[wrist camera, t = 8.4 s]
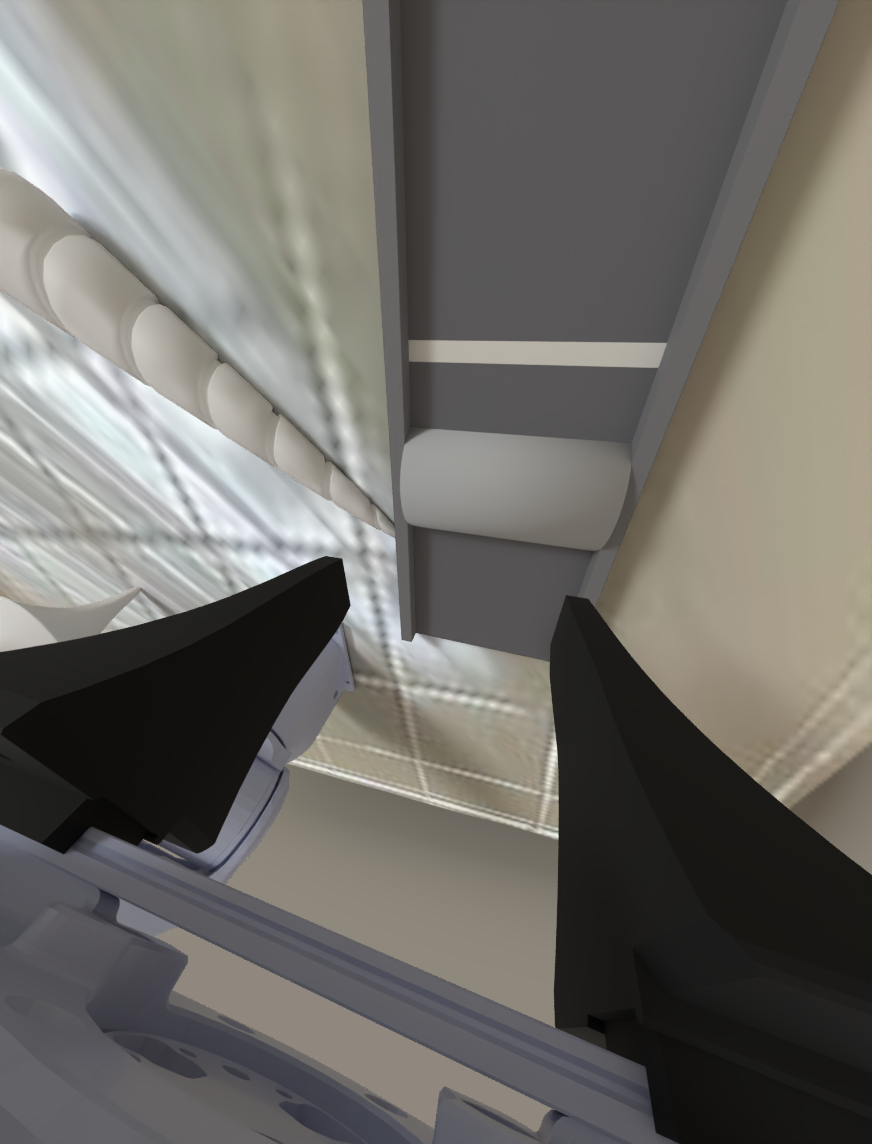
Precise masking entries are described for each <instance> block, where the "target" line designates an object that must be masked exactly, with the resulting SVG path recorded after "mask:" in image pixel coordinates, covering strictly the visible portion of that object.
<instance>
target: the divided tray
mask: <svg viewBox="0 0 872 1144" xmlns="http://www.w3.org/2000/svg"><path fill="white" fill-rule="evenodd" d="M362 2H363V18H364V34H365V51H366V67H367V83H368V99H369V116H370V132H371V148H372V165H373V181H374V197H375V213H376V230H377V246H378V262H379V278H380V295H381V311H382V327H383V344H384V360H385V376H386V392H387V409H388V425H389V441H390V458H391V474H392V490H393V506H394V523H395V539H396V555H397V572H398V588H399V604H400V620H401V637H402V640H405V641H410V642H412V640H413V638H414V636H415V633H420V634H424V635H429V636H434V637H438V638H443V639H448V640H452V641H457V642H462V643H466V644H471V645H476V646H480V647H485V648H490V649H495V650H499V651H504V652H509V653H513V654H518V655H523V656H527V657H532V658H537V659H541V660H546V661H550V644H551V641H552V638H553V635H554V631H555V628H556V625H557V622H558V619H559V616H560V612H561V609H562V606H563V603H564V600H565V597H566V595H569V596H575V597H581V598H587V599H589V600H590V602H591V603H592V604H593V606H594V607H595V606H596V604H597V601H598V599H599V596H600V594H601V591H602V589H603V586H604V584H605V581H606V579H607V576H608V574H609V571H610V569H611V566H612V564H613V561H614V559H615V556H616V554H617V551H618V549H619V546H620V544H621V542H622V539H623V537H624V534H625V532H626V529H627V527H628V524H629V522H630V519H631V517H632V514H633V512H634V509H635V507H636V504H637V502H638V499H639V497H640V494H641V492H642V489H643V487H644V484H645V482H646V479H647V477H648V474H649V472H650V469H651V467H652V465H653V462H654V460H655V457H656V455H657V452H658V450H659V447H660V445H661V442H662V440H663V437H664V435H665V432H666V430H667V427H668V425H669V422H670V420H671V417H672V415H673V412H674V410H675V407H676V405H677V402H678V400H679V397H680V395H681V392H682V390H683V387H684V385H685V383H686V380H687V378H688V375H689V373H690V370H691V368H692V365H693V363H694V360H695V358H696V355H697V353H698V350H699V348H700V345H701V343H702V340H703V338H704V335H705V333H706V330H707V328H708V325H709V323H710V320H711V318H712V315H713V313H714V310H715V308H716V306H717V303H718V301H719V298H720V296H721V293H722V291H723V288H724V286H725V283H726V281H727V278H728V276H729V273H730V271H731V268H732V266H733V263H734V261H735V258H736V256H737V253H738V251H739V248H740V246H741V243H742V241H743V238H744V236H745V233H746V231H747V228H748V226H749V224H750V221H751V219H752V216H753V214H754V211H755V209H756V206H757V204H758V201H759V199H760V196H761V194H762V191H763V189H764V186H765V184H766V181H767V179H768V176H769V174H770V171H771V169H772V166H773V164H774V161H775V159H776V156H777V154H778V151H779V149H780V146H781V144H782V142H783V139H784V137H785V134H786V132H787V129H788V127H789V124H790V122H791V119H792V117H793V114H794V112H795V109H796V107H797V104H798V102H799V99H800V97H801V94H802V92H803V89H804V87H805V84H806V82H807V79H808V77H809V74H810V72H811V69H812V67H813V65H814V62H815V60H816V57H817V55H818V52H819V50H820V47H821V45H822V42H823V40H824V37H825V35H826V32H827V30H828V27H829V25H830V22H831V20H832V17H833V15H834V12H835V10H836V7H837V5H838V2H839V0H362Z"/></svg>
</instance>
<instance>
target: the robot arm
mask: <svg viewBox="0 0 872 1144" xmlns="http://www.w3.org/2000/svg"><path fill="white" fill-rule="evenodd" d="M349 607H350V600H349V594H348V589H347V583H346V577H345V572H344V566H343V561H342V559H341V558H335V557H329V556H325V557H322V558H319V559H316V560H314V561H311V562H309V563H307V564H304V565H302V566H300V567H298V568H295V569H293V570H291V571H289V572H286V573H284V574H282V575H280V576H277V577H275V578H273V579H271V580H268V581H266V582H264V583H261V584H259V585H257V586H254V587H252V588H249V589H247V590H244V591H242V592H239V593H237V594H235V595H232V596H230V597H227V598H224V599H222V600H219V601H216V602H213V603H211V604H208V605H205V606H202V607H199V608H196V609H193V610H190V611H186V612H183V613H180V614H176V615H173V616H169V617H166V618H162V619H158V620H155V621H151V622H148V623H144V624H140V625H137V626H133V627H128V628H124V629H120V630H116V631H111V632H107V633H102V634H98V635H93V636H88V637H84V638H79V639H73V640H68V641H63V642H57V643H51V644H46V645H40V646H34V647H28V648H22V649H16V650H10V651H4V652H0V1144H872V875H871V874H870V873H868V872H867V871H866V870H864V869H863V868H862V867H861V866H859V865H858V864H857V863H855V862H854V861H853V860H851V859H850V858H849V857H847V856H846V855H845V854H844V853H842V852H841V851H840V850H839V849H837V848H836V847H835V846H834V845H832V844H831V843H829V841H827V840H826V839H825V838H823V837H822V836H821V835H820V834H819V833H817V832H816V831H815V830H814V829H813V828H811V827H810V826H809V825H808V824H806V823H805V822H804V821H803V820H801V819H800V818H799V817H798V816H796V815H795V814H794V813H793V812H792V811H790V810H789V809H788V808H787V807H785V806H784V805H783V804H782V803H781V802H780V801H778V800H777V799H776V798H775V797H774V796H772V795H771V794H770V793H769V792H768V791H766V790H765V789H764V788H763V787H762V786H761V785H759V784H758V783H757V782H756V781H755V780H754V779H753V778H751V777H750V776H749V775H748V774H747V773H746V772H745V771H744V770H742V769H741V768H740V767H739V766H738V765H737V764H736V763H735V762H733V761H732V760H731V759H730V758H729V757H728V756H727V755H726V754H725V753H723V752H722V751H721V750H720V749H719V748H718V747H717V746H716V745H715V744H714V743H713V742H711V741H710V740H709V739H708V738H707V737H706V736H705V735H704V734H703V733H702V732H701V731H700V730H699V729H698V728H697V727H696V726H695V725H694V724H693V723H692V722H691V721H690V720H689V719H688V718H687V717H686V716H685V715H684V714H683V713H682V712H681V711H680V710H679V709H678V708H677V707H676V706H675V705H674V704H673V703H672V702H671V701H670V700H669V699H668V698H667V697H666V696H665V695H664V694H663V692H662V691H661V690H660V689H659V688H658V687H657V686H656V685H655V683H654V682H653V681H652V680H651V679H650V678H649V677H648V675H647V674H646V673H645V672H644V671H643V670H642V669H641V667H640V666H639V665H638V664H637V663H636V661H635V660H634V659H633V658H632V657H631V655H630V654H629V653H628V651H627V650H626V649H625V648H624V646H623V645H622V644H621V643H620V641H619V640H618V639H617V637H616V636H615V635H614V633H613V632H612V631H611V629H610V628H609V626H608V625H607V624H606V622H605V621H604V620H603V618H602V617H601V615H600V614H599V613H598V611H597V610H596V609H595V607H594V606H593V604H592V603H591V602H590V600H589V599H587V598H581V597H575V596H569V595H566V597H565V600H564V603H563V606H562V609H561V612H560V616H559V619H558V622H557V625H556V628H555V631H554V635H553V638H552V641H551V644H550V684H551V694H552V704H553V713H554V723H555V732H556V742H557V752H558V770H559V851H558V852H559V853H558V900H557V901H558V902H557V929H556V930H557V931H556V957H555V980H554V1009H555V1027H556V1028H554V1027H552V1026H550V1025H547V1024H545V1023H543V1022H541V1021H538V1020H536V1019H534V1018H531V1017H529V1016H527V1015H525V1014H522V1013H520V1012H518V1011H515V1010H513V1009H511V1008H508V1007H506V1006H504V1005H501V1004H499V1003H497V1002H494V1001H492V1000H490V999H488V998H485V997H483V996H481V995H478V994H476V993H474V992H471V991H469V990H467V989H465V988H462V987H460V986H458V985H455V984H453V983H451V982H448V981H446V980H444V979H442V978H439V977H437V976H435V975H432V974H430V973H428V972H425V971H423V970H421V969H419V968H416V967H414V966H412V965H409V964H407V963H405V962H402V961H400V960H398V959H395V958H393V957H391V956H389V955H386V954H384V953H382V952H379V951H377V950H375V949H372V948H370V947H368V946H366V945H363V944H361V943H359V942H356V941H354V940H352V939H349V938H347V937H345V936H342V935H340V934H338V933H336V932H333V931H331V930H328V929H326V928H324V927H322V926H319V925H317V924H315V923H312V922H310V921H308V920H305V919H303V918H301V917H299V916H296V915H294V914H291V913H289V912H287V911H285V910H283V909H280V908H278V907H276V906H273V905H271V904H269V903H266V902H264V901H262V900H259V899H257V898H255V897H253V896H250V895H248V894H246V893H243V892H241V891H239V890H236V889H234V888H232V887H230V886H227V885H226V884H227V882H228V881H229V879H230V878H231V877H232V875H233V874H234V872H235V871H236V870H237V869H238V868H239V866H240V865H241V864H242V863H243V862H244V861H245V860H246V859H247V858H248V857H249V856H250V855H251V854H252V852H253V851H254V850H255V849H256V847H257V846H258V845H259V843H260V842H261V841H262V839H263V838H264V836H265V835H266V833H267V832H268V830H269V828H270V827H271V825H272V824H273V822H274V820H275V819H276V817H277V815H278V813H279V811H280V809H281V807H282V805H283V803H284V801H285V798H286V796H287V793H288V790H289V777H290V771H289V769H288V768H287V767H285V765H286V763H288V762H290V761H292V760H294V759H296V758H297V757H299V756H300V755H302V754H303V753H304V752H305V751H306V750H307V749H308V748H309V747H310V746H311V745H312V744H313V742H314V741H315V739H316V737H317V736H318V734H319V732H320V730H321V729H322V727H323V725H324V724H325V722H326V720H327V719H328V717H329V715H330V713H331V712H332V710H333V708H334V707H335V705H336V703H337V702H338V700H339V698H340V696H341V695H342V693H343V691H344V690H346V691H350V692H352V691H354V689H355V685H354V680H353V675H352V670H351V666H350V661H349V656H348V651H347V646H346V641H345V637H344V632H343V627H342V624H341V623H342V621H343V619H344V617H345V615H346V613H347V611H348V609H349ZM143 839H144V840H147V841H149V842H151V843H154V844H156V845H159V846H161V847H163V848H165V849H167V850H169V851H171V852H173V853H175V854H176V855H178V856H180V857H182V858H184V859H186V860H184V859H180V858H176V857H174V856H172V855H170V854H168V853H167V852H165V851H163V850H161V849H159V848H157V847H155V846H153V845H151V844H149V843H147V842H146V841H144V840H143ZM175 927H179V928H182V929H184V930H186V931H188V932H190V933H192V934H194V935H196V936H198V937H200V938H202V939H204V940H206V941H208V942H210V943H212V944H215V945H217V946H219V947H221V948H223V949H225V950H227V951H229V952H231V953H233V954H235V955H237V956H239V957H242V958H243V959H245V960H247V961H250V962H252V963H254V964H256V965H258V966H260V967H262V968H264V969H266V970H269V971H270V972H272V973H275V974H277V975H279V976H280V977H283V978H285V979H287V980H289V981H291V982H293V983H295V984H297V985H299V986H301V987H303V988H305V989H308V990H309V991H312V992H313V993H316V994H318V995H320V996H322V997H324V998H326V999H328V1000H330V1001H332V1002H334V1003H336V1004H338V1005H340V1006H342V1007H345V1008H346V1009H349V1010H351V1011H353V1012H355V1013H357V1014H359V1015H361V1016H363V1017H365V1018H367V1019H369V1020H371V1021H373V1022H376V1023H377V1024H380V1025H381V1026H384V1027H386V1028H388V1029H390V1030H392V1031H394V1032H396V1033H398V1034H400V1035H402V1036H404V1037H406V1038H408V1039H410V1040H412V1041H414V1042H417V1043H419V1044H421V1045H423V1046H425V1047H427V1048H429V1049H431V1050H433V1051H435V1052H437V1053H439V1054H441V1055H443V1056H445V1057H447V1058H449V1059H452V1060H454V1061H456V1062H458V1063H460V1064H462V1065H464V1066H466V1067H468V1068H470V1069H472V1070H474V1071H476V1072H478V1073H480V1074H482V1075H485V1076H487V1077H489V1078H491V1079H493V1080H495V1081H497V1082H499V1083H501V1084H503V1085H505V1086H507V1087H510V1088H511V1089H514V1090H515V1091H518V1092H520V1093H522V1094H524V1095H526V1096H528V1097H530V1098H532V1099H534V1100H536V1101H538V1102H540V1103H542V1104H544V1105H546V1106H548V1107H551V1108H553V1109H555V1110H550V1111H549V1112H548V1113H547V1114H546V1115H545V1116H544V1118H543V1120H542V1124H541V1127H540V1129H539V1131H537V1132H534V1131H533V1130H531V1129H530V1128H528V1127H527V1126H525V1125H523V1124H522V1123H520V1122H519V1121H517V1120H515V1119H513V1118H512V1117H510V1116H508V1115H506V1114H504V1113H502V1112H500V1111H498V1110H496V1109H494V1108H492V1107H490V1106H488V1105H485V1104H483V1103H481V1102H479V1101H477V1100H474V1099H472V1098H470V1097H468V1096H465V1095H463V1094H461V1093H459V1092H456V1091H454V1090H452V1089H450V1088H447V1087H443V1089H442V1090H441V1091H440V1092H439V1099H438V1107H437V1114H436V1121H435V1129H433V1128H432V1127H430V1126H429V1125H427V1124H425V1123H424V1122H422V1121H420V1120H418V1119H417V1118H415V1117H413V1116H412V1115H410V1114H408V1113H407V1112H405V1111H403V1110H402V1109H400V1108H398V1107H397V1106H395V1105H393V1104H392V1103H390V1102H388V1101H387V1100H385V1099H383V1098H382V1097H380V1096H378V1095H377V1094H375V1093H373V1092H371V1091H370V1090H368V1089H367V1088H365V1087H363V1086H361V1085H360V1084H358V1083H356V1082H355V1081H353V1080H351V1079H349V1078H348V1077H346V1076H344V1075H342V1074H340V1073H339V1072H336V1071H335V1070H333V1069H331V1068H330V1067H328V1066H326V1065H324V1064H322V1063H320V1062H318V1061H317V1060H315V1059H313V1058H311V1057H309V1056H307V1055H305V1054H303V1053H301V1052H299V1051H297V1050H295V1049H294V1048H292V1047H290V1046H288V1045H286V1044H284V1043H282V1042H280V1041H278V1040H276V1039H273V1038H271V1037H269V1036H267V1035H265V1034H263V1033H261V1032H259V1031H257V1030H255V1029H253V1028H251V1027H249V1026H247V1025H245V1024H242V1023H240V1022H238V1021H236V1020H234V1019H232V1018H230V1017H228V1016H225V1015H224V1014H221V1013H219V1012H217V1011H215V1010H213V1009H211V1008H209V1007H207V1006H205V1005H202V1004H200V1003H198V1002H196V1001H194V1000H192V999H190V998H188V997H186V996H184V995H182V994H179V993H177V992H175V991H173V990H172V989H173V988H174V986H175V984H176V982H177V981H178V979H179V977H180V976H181V974H182V972H183V970H184V969H185V967H186V965H187V963H188V956H187V955H186V954H184V953H182V952H181V951H179V950H178V949H176V948H175V947H173V946H171V945H169V944H168V943H166V942H164V941H162V940H160V939H157V938H155V937H154V936H156V935H159V934H161V933H164V932H166V931H168V930H171V929H173V928H175Z"/></svg>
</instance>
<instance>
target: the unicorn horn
mask: <svg viewBox="0 0 872 1144" xmlns="http://www.w3.org/2000/svg"><path fill="white" fill-rule="evenodd" d="M0 291H2V292H3V293H5V294H6V295H8V296H10V297H11V298H13V299H14V300H16V301H17V302H19V303H21V304H22V305H24V306H25V307H27V308H28V309H30V310H32V311H33V312H35V313H36V314H38V315H39V316H41V317H42V318H44V319H46V320H47V321H49V322H50V323H52V324H53V325H55V326H56V327H58V328H60V329H61V330H63V331H64V332H66V333H67V334H69V335H71V336H73V337H76V338H77V339H78V340H80V341H81V342H82V343H83V344H84V345H86V346H87V347H89V348H90V349H92V350H93V351H95V352H97V353H98V354H100V355H101V356H103V357H104V358H106V359H107V360H109V361H110V362H112V363H113V364H115V365H116V366H118V367H119V368H121V369H122V370H124V371H125V372H127V373H129V374H130V375H132V376H133V377H135V378H136V379H138V380H139V381H141V382H142V383H144V384H145V385H148V386H150V387H152V388H153V389H154V390H155V391H156V392H158V393H159V394H161V395H162V396H164V397H165V398H167V399H168V400H170V401H172V402H173V403H175V404H176V405H178V406H179V407H181V408H182V409H184V410H186V411H187V412H189V413H190V414H192V415H193V416H195V417H197V418H198V419H200V420H201V421H203V422H204V423H206V424H207V425H209V426H211V427H212V428H214V429H217V430H219V431H220V432H221V433H222V434H223V435H225V436H226V437H228V438H229V439H231V440H232V441H234V442H235V443H237V444H239V445H240V446H242V447H243V448H245V449H246V450H248V451H250V452H251V453H253V454H254V455H256V456H257V457H259V458H261V459H262V460H264V461H265V462H267V463H269V464H270V465H272V466H274V467H278V468H279V469H280V470H281V471H282V472H283V473H284V474H286V475H288V476H289V477H291V478H293V479H294V480H296V481H297V482H299V483H301V484H302V485H304V486H306V487H307V488H309V489H310V490H312V491H314V492H315V493H317V494H319V495H320V496H322V497H323V498H325V499H327V500H330V501H333V502H334V504H335V505H337V506H338V507H340V508H342V509H343V510H345V511H347V512H348V513H350V514H352V515H353V516H355V517H357V518H359V519H360V520H362V521H364V522H366V523H367V524H369V525H371V526H373V527H375V528H376V529H379V530H382V531H383V532H385V533H386V534H388V535H390V536H393V537H395V527H394V526H393V524H392V523H391V522H390V521H389V520H388V519H387V518H386V517H385V515H384V514H383V513H382V512H381V511H380V510H379V509H378V508H377V507H376V506H375V505H373V504H371V503H370V502H369V499H368V498H367V497H366V496H365V495H364V494H363V493H362V492H361V491H360V490H359V489H358V488H357V487H356V486H355V485H354V484H353V483H352V482H351V481H350V480H349V479H348V478H347V477H346V476H345V475H344V474H343V473H342V472H341V471H340V470H339V469H338V468H337V467H336V466H335V465H333V464H332V463H331V462H328V461H327V462H325V459H324V456H323V454H322V453H321V452H320V451H319V450H318V449H317V448H316V447H315V446H314V445H313V444H312V443H311V442H310V441H309V440H308V439H307V438H306V437H304V436H303V435H302V434H301V433H300V432H299V431H298V430H297V429H296V428H295V427H294V426H293V425H292V424H291V423H290V422H289V421H288V420H287V419H286V418H285V417H284V416H283V415H282V414H279V415H278V416H276V415H275V414H274V413H273V412H272V409H273V406H272V405H271V404H270V403H269V402H268V401H267V400H266V399H265V398H264V397H263V396H262V395H261V394H259V393H258V392H257V391H256V390H255V389H254V388H253V387H252V386H251V385H250V384H249V383H248V382H247V381H246V380H245V379H244V378H243V377H241V376H240V375H239V374H238V373H237V372H236V371H235V370H234V369H233V368H232V367H231V366H230V365H229V364H228V363H222V364H221V363H220V362H219V361H218V354H217V353H216V352H215V351H214V350H213V349H212V348H211V347H210V346H208V345H207V344H206V343H205V342H204V341H203V340H202V339H201V338H200V337H199V336H198V335H197V334H196V333H195V332H194V331H192V330H191V329H190V328H189V327H188V326H187V325H186V324H185V323H184V322H183V321H182V320H181V319H180V318H179V317H177V316H176V315H175V314H174V313H173V312H172V311H171V310H170V309H169V308H168V307H166V306H163V305H161V304H159V301H158V299H157V297H156V296H155V295H154V294H153V293H152V292H151V291H150V290H149V289H148V288H147V287H145V286H144V285H143V284H142V283H141V282H140V281H139V280H138V279H137V278H136V277H135V276H134V275H133V274H132V273H130V272H129V271H128V270H127V269H126V268H125V267H124V266H123V265H122V264H121V263H120V262H119V261H118V260H117V259H116V258H115V257H114V256H113V255H112V254H111V253H110V252H108V251H107V250H106V249H105V248H104V247H103V246H102V245H101V244H100V243H99V242H97V241H95V240H93V239H91V237H90V235H89V234H88V232H87V231H86V230H85V229H84V228H83V227H82V226H81V225H80V224H78V223H77V222H76V221H75V220H74V219H73V218H72V217H71V216H70V215H69V214H68V213H67V212H66V211H64V210H63V209H62V208H61V207H60V206H59V205H58V204H57V203H56V202H55V201H54V200H53V199H52V198H50V197H49V196H48V195H47V194H45V193H44V192H43V191H42V190H40V189H39V188H37V187H36V186H34V185H33V184H31V183H30V182H29V181H27V180H26V179H24V178H23V177H21V176H20V175H18V174H17V173H15V172H12V171H9V170H5V169H2V168H0Z"/></svg>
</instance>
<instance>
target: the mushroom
mask: <svg viewBox="0 0 872 1144" xmlns="http://www.w3.org/2000/svg"><path fill="white" fill-rule="evenodd" d="M140 591H141V589H140V588H138V587H136V588H132V589H129V590H127V591H125V592H122V593H120V594H117V595H115V596H112V597H110V598H107V599H104V600H101V601H98V602H94V603H90V604H85V605H80V606H73V607H45V606H38V605H32V604H27V603H22V602H18V601H14V600H11V599H8V598H5V597H2V596H0V652H4V651H10V650H16V649H22V648H28V647H34V646H40V645H46V644H51V643H57V642H63V641H68V640H73V639H79V638H84V637H88V636H93V635H98V634H100V633H101V632H102V631H103V629H104V628H105V627H106V626H107V625H108V624H109V622H110V621H111V620H112V619H113V618H114V617H115V616H116V615H117V614H118V613H119V612H120V611H121V610H122V609H123V608H124V607H125V606H126V605H127V604H128V603H129V602H130V601H131V600H132V599H133V598H134V597H136V596H137V595H138V594H139V593H140Z"/></svg>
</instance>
